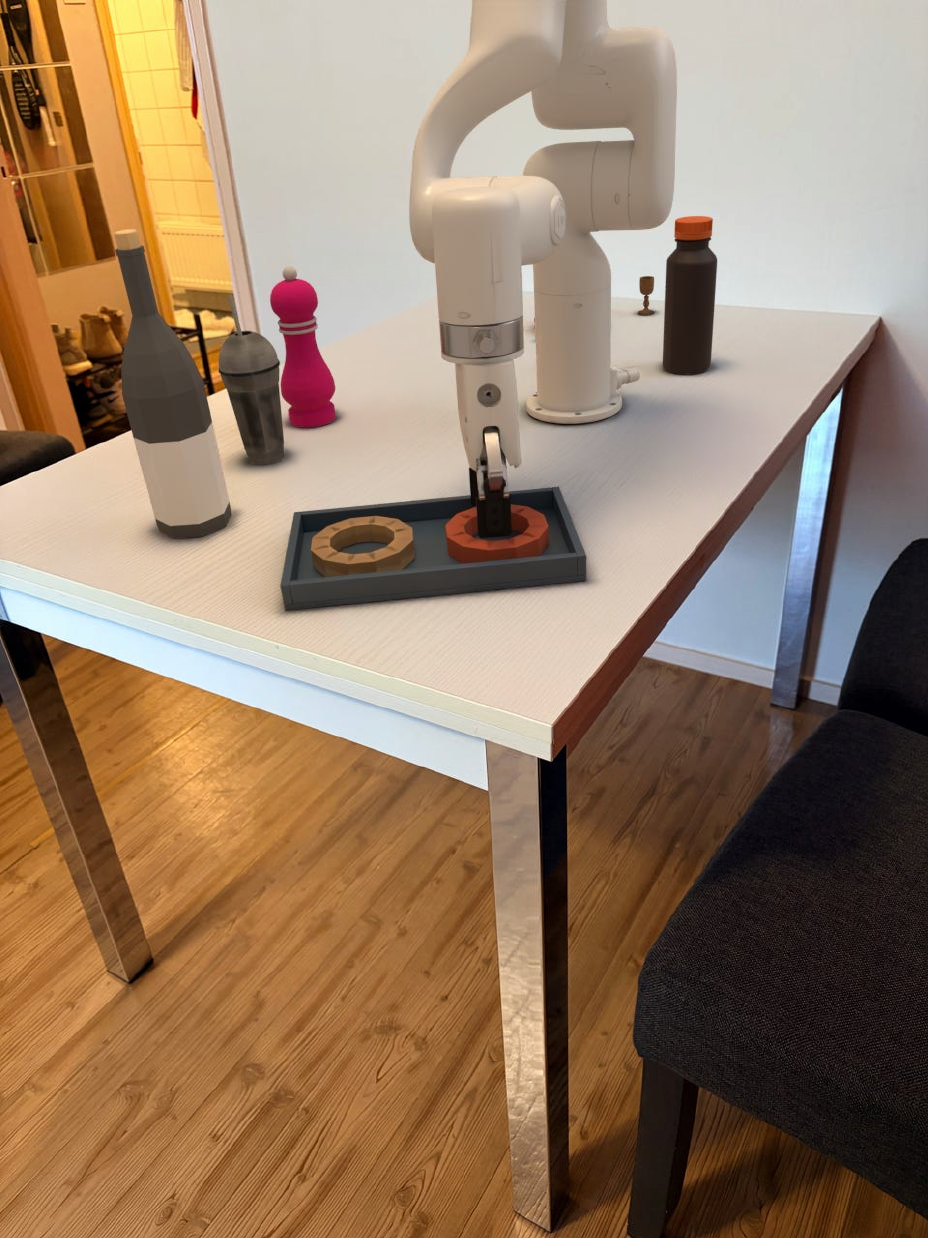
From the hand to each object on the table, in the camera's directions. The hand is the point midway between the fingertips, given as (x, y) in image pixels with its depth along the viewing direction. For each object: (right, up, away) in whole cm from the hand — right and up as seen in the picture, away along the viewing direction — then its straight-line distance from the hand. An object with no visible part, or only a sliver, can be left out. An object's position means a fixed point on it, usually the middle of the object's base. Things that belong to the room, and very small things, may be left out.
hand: (490, 518), depth 95 cm
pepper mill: (-23, +17, +36) cm, 46 cm away
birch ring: (-12, -4, -1) cm, 13 cm away
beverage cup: (-27, +10, +25) cm, 38 cm away
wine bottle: (-32, 0, +10) cm, 33 cm away
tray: (-6, -4, -1) cm, 7 cm away
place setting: (+19, +39, +65) cm, 78 cm away
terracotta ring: (+1, -3, -1) cm, 3 cm away
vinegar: (+29, +26, +43) cm, 58 cm away
